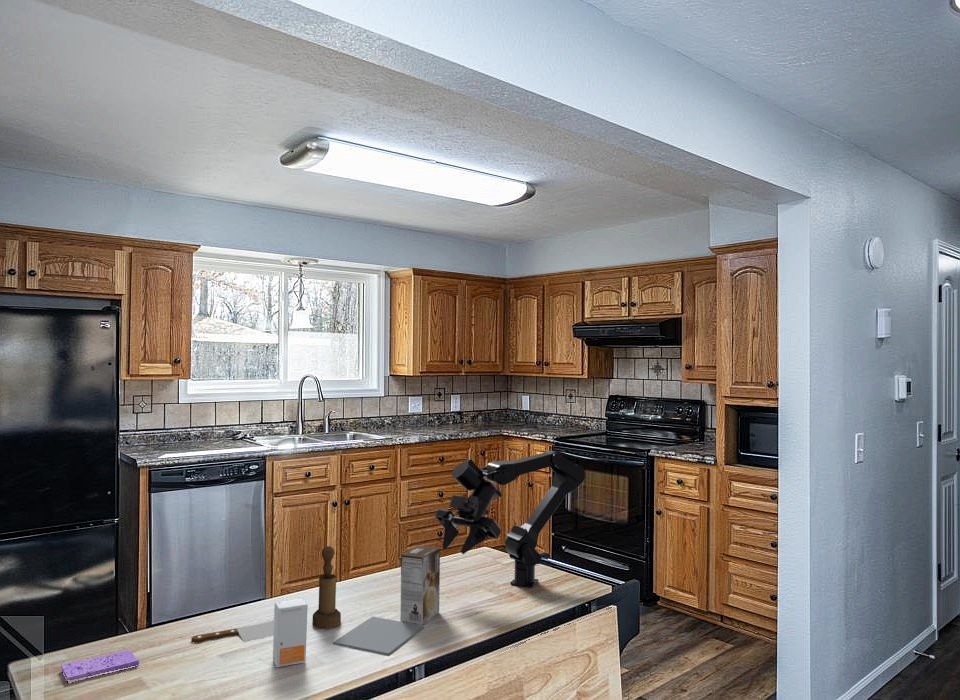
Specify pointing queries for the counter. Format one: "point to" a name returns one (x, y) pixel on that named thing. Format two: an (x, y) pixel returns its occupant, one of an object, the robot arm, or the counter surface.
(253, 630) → the kitchen cleaver
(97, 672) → the sponges
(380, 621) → the mat
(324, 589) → the mortar and pestle
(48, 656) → the counter surface
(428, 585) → the coffee box
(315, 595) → the counter surface
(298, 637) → the skincare box
